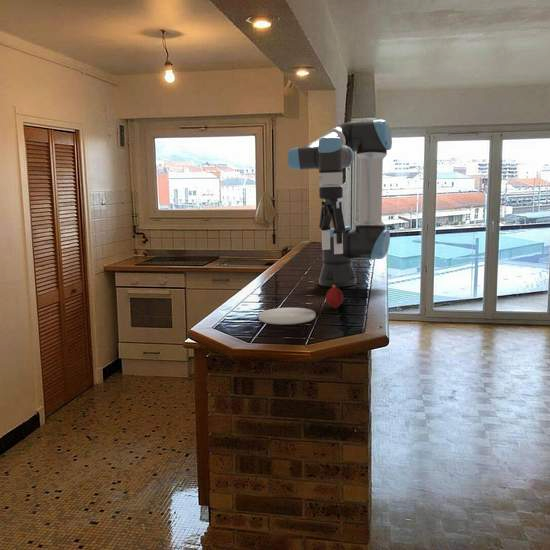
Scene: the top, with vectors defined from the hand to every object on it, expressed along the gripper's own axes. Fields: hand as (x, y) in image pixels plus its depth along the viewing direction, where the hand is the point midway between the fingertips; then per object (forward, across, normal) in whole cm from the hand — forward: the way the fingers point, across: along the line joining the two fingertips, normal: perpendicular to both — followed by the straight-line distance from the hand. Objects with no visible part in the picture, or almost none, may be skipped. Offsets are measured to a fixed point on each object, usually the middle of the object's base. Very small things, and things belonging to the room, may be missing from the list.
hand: (332, 251), depth 195 cm
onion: (+19, 0, 0) cm, 19 cm away
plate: (+19, +7, -18) cm, 27 cm away
